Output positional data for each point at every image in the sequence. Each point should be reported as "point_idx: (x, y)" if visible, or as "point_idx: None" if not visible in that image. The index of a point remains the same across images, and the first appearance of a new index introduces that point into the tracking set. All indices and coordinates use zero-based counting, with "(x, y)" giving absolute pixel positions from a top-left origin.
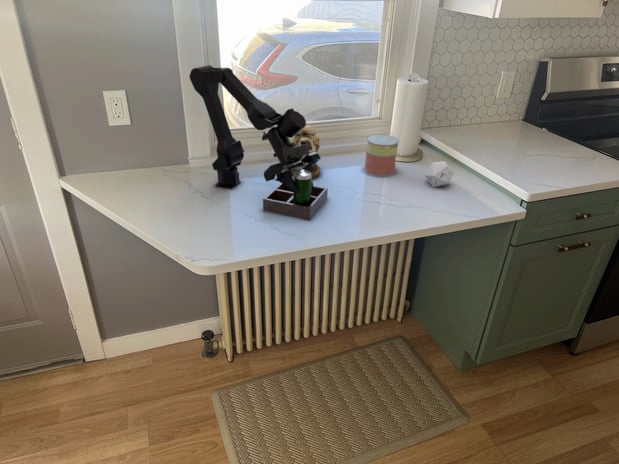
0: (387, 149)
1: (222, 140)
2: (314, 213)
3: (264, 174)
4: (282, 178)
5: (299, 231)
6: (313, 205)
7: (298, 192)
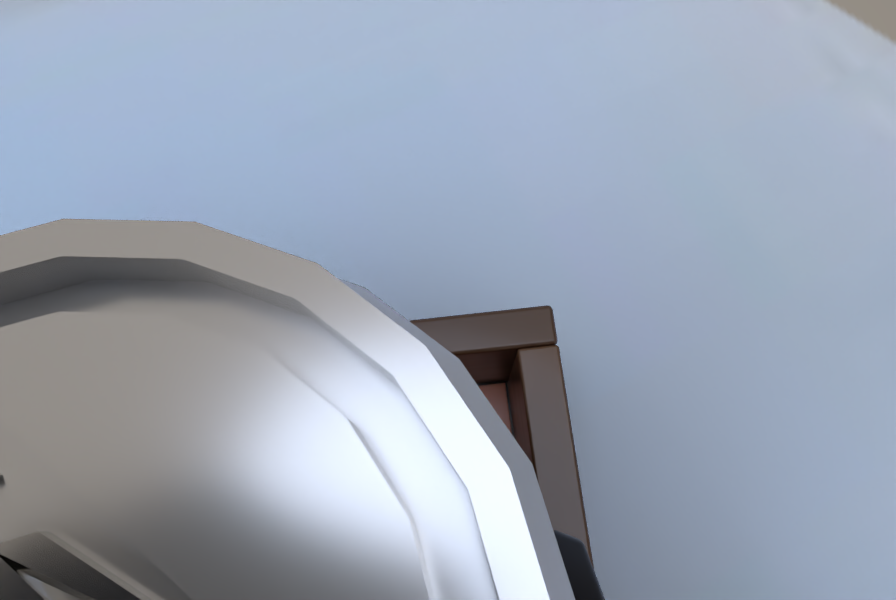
0: None
1: None
2: None
3: None
4: None
5: (818, 336)
6: (414, 321)
7: (583, 543)
